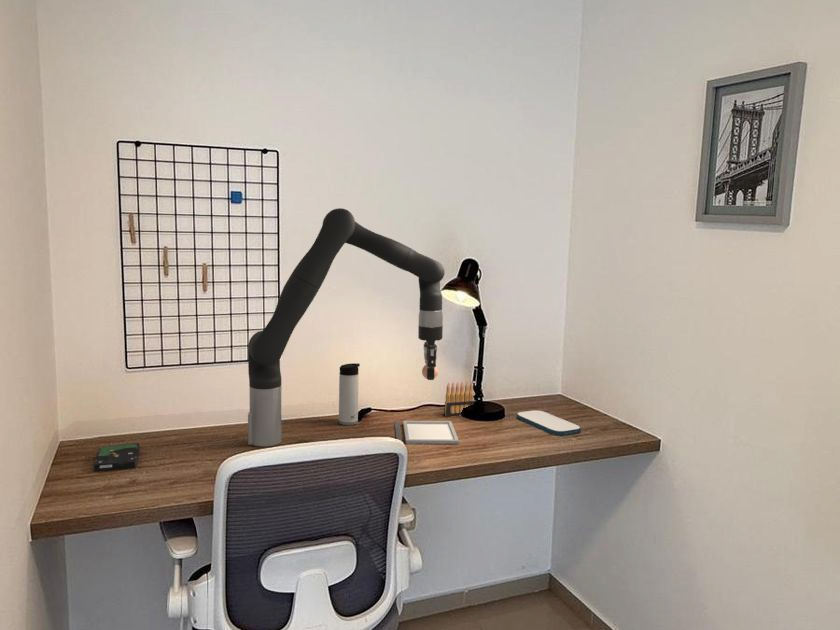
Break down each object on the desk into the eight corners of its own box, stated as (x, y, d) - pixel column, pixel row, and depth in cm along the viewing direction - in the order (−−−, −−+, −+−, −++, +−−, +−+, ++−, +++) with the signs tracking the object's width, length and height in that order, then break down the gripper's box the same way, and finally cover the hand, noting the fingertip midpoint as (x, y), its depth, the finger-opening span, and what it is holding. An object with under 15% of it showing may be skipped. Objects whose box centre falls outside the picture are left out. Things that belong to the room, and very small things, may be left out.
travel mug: (357, 426, 217) (358, 366, 214) (337, 425, 217) (338, 365, 215) (359, 420, 223) (360, 362, 221) (340, 419, 223) (340, 361, 221)
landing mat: (397, 445, 200) (397, 441, 200) (394, 423, 221) (394, 419, 221) (459, 445, 201) (459, 441, 201) (450, 423, 223) (450, 420, 223)
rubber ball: (422, 381, 207) (422, 365, 206) (421, 377, 212) (421, 362, 211) (438, 381, 207) (438, 365, 206) (436, 377, 212) (437, 362, 211)
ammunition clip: (445, 417, 230) (447, 383, 229) (443, 415, 232) (444, 382, 230) (473, 415, 234) (475, 381, 232) (471, 413, 236) (472, 380, 234)
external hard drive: (512, 418, 233) (513, 412, 232) (539, 414, 238) (539, 409, 238) (556, 438, 212) (557, 432, 212) (584, 433, 218) (584, 428, 217)
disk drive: (137, 470, 175) (139, 451, 189) (137, 460, 175) (139, 442, 189) (93, 474, 172) (99, 454, 185) (93, 464, 171) (98, 445, 185)
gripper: (416, 320, 214) (416, 372, 216) (420, 327, 199) (419, 383, 202) (440, 320, 214) (439, 372, 216) (445, 327, 200) (444, 383, 202)
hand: (429, 377), depth 209 cm, fingers closed on rubber ball, 5 cm apart
